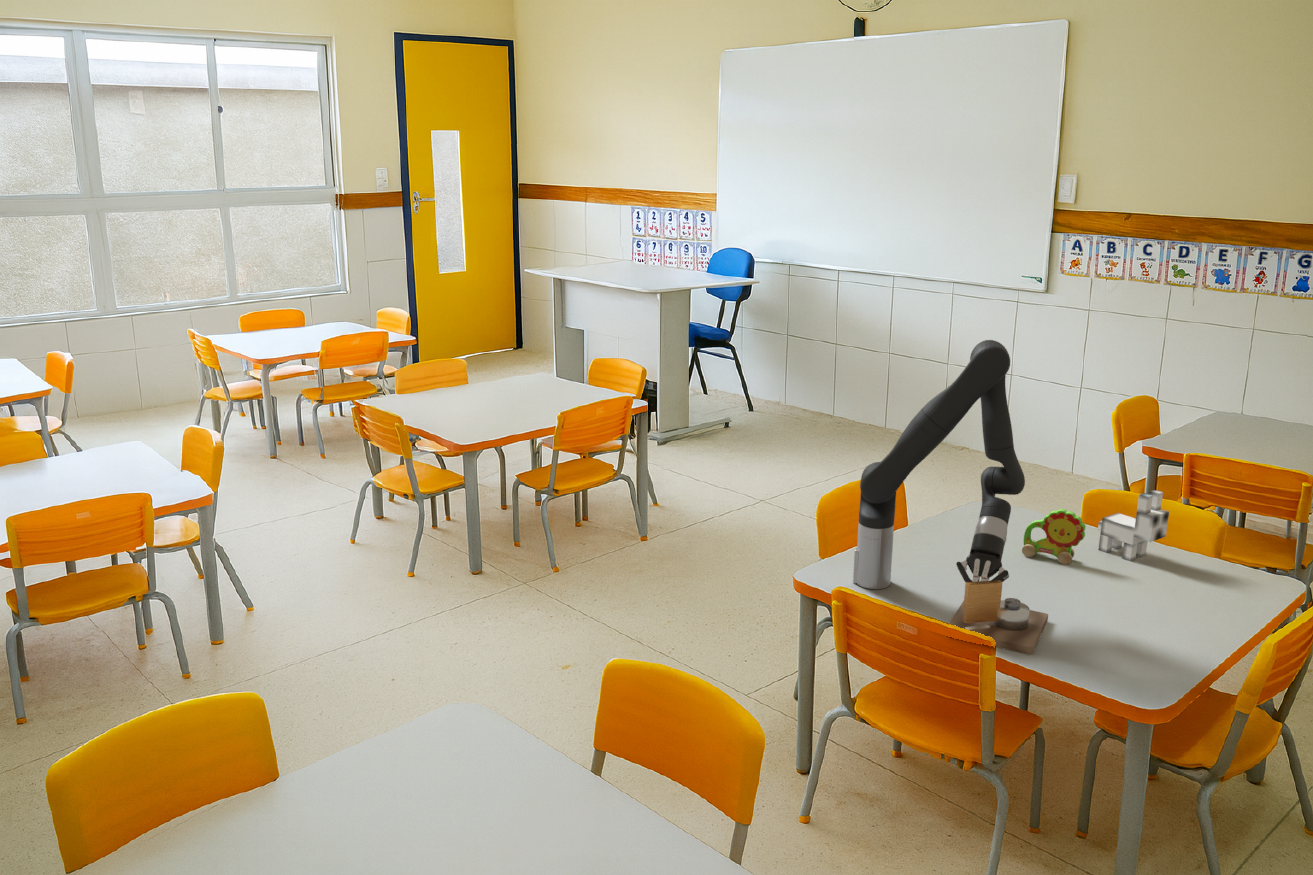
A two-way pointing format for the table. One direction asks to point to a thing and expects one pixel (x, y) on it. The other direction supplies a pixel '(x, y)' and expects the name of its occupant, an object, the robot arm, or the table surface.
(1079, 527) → the toy lion
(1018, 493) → the robot arm
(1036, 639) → the base
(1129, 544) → the toy llama
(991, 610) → the lock handle
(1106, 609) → the table surface
